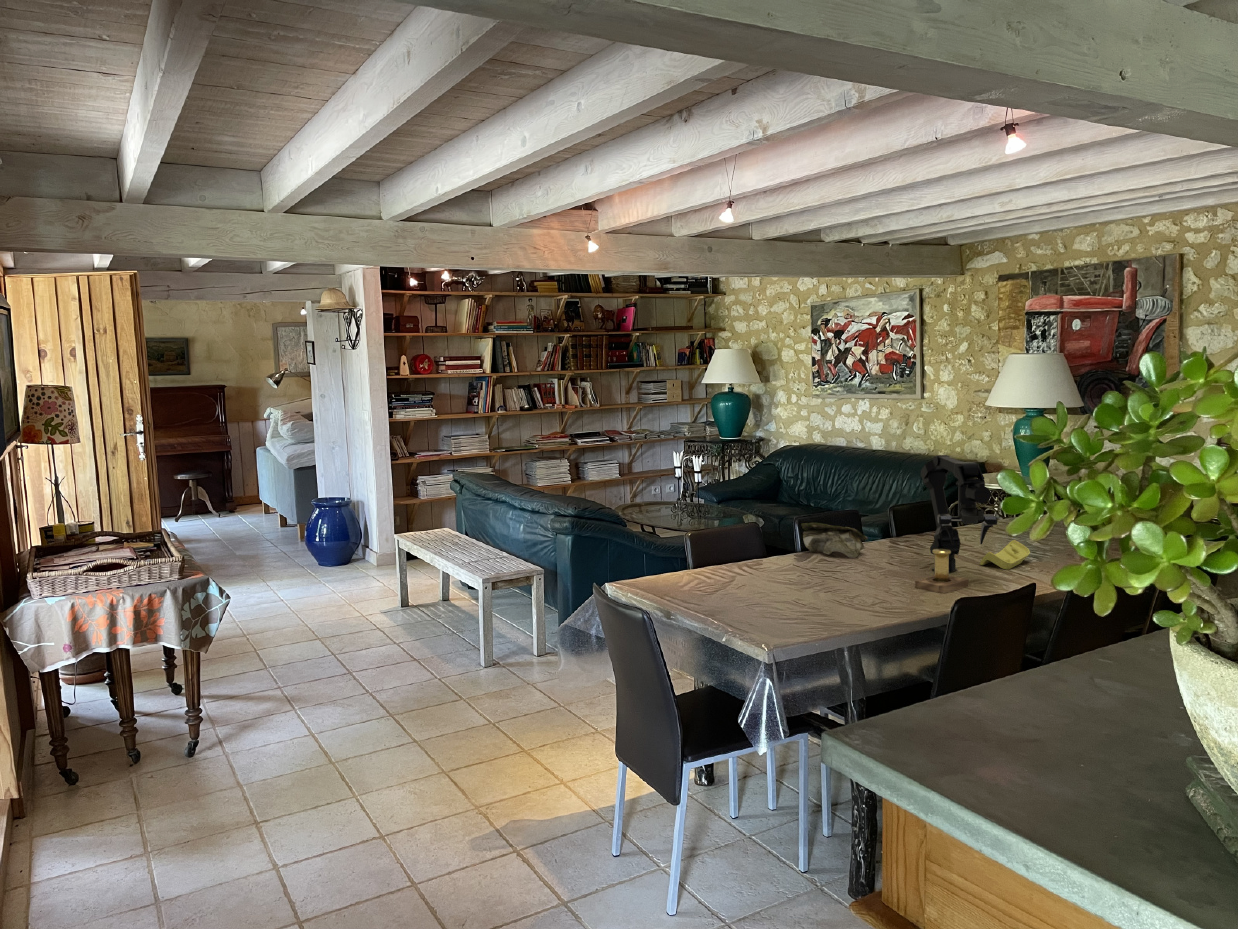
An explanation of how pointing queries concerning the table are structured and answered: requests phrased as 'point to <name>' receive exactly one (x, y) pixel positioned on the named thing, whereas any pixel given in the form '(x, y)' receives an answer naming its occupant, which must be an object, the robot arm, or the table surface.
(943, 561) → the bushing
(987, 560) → the plastic component
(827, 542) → the hollow geode rock
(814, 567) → the table surface
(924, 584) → the jig
